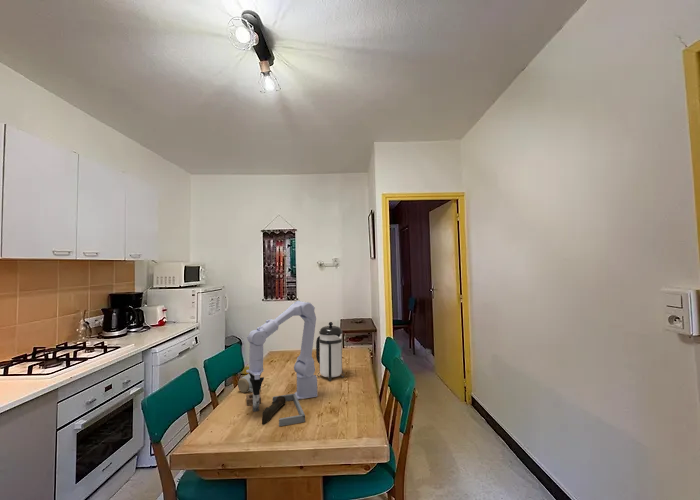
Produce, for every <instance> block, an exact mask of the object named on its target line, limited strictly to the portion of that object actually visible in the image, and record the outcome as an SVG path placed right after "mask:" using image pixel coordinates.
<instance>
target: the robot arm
mask: <svg viewBox="0 0 700 500" xmlns="http://www.w3.org/2000/svg"><path fill="white" fill-rule="evenodd" d="M315 309H316V307H315V306H314V305H313V303H311V302H309V301H307V302H306V301H300V300H297V301H294V303H292V304H290V306H289V307H287V309H284V311H283V312H282V313H280V314H279V315H278V316H276V317H275V318H274V319H272V318H270V319H266V320H265V323H263V324H262V325H260V326H257V327H256V329H253V330H251V331H249V333H248V335H247V337H246V340H247V341H248V343H249V347H248V348H249V353H248V355H249V356H248V357H249V359H248V360H249V361H248V365H249V366H248V368H249V369H246V373H248V374H250V377H251V378H250V382H251V384H252V387H253V393H252V394H254V395H259V393H260V394H261V390H260V388H261V389H262V383H263V382H264V379H265V377H264V376H263V377H261V375H262V373H263V372H264V371H265V369H264V343H265V342H266V340H267V338H269V337H270V336H271V335H273V334H274V333H275V332H277V331H278V330H279V326H280V325H281V324H283V323H284V322H286V321H287V320H289V319H290V318H292V317H295V316H299V317H300V318H301V319H302V320H303V330H302V331H303V332H302V337H301V338H302V339H301V344H300V354H299V356H297V358H296V361H295V363H294V365H293V370H294V371H295V373H296V391H295V392H294V394H295V395H296V397H297V399H298V400H304V399H309V398H310V399H312V398H318V376H317V375H316V374H315V371H316V367H315V360H314V358H313V356H312V355H313V347H314V339H315V331H316V323H317V316H316V313H315Z"/></svg>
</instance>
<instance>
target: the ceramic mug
mask: <svg viewBox="0 0 700 500" xmlns="http://www.w3.org/2000/svg"><path fill="white" fill-rule="evenodd" d="M250 378H251V377H250V374H249V373H248V374H246V375H244V376H242V377H241V378H240V379H239V380H238V381H237V388H238V389H239V391H240V392H241V393H248V392H250V393H251V394H253V387H252V384H251V382H250ZM261 389H262V387H261V388H260V391H261Z"/></svg>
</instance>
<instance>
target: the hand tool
mask: <svg viewBox="0 0 700 500" xmlns="http://www.w3.org/2000/svg"><path fill="white" fill-rule="evenodd" d="M277 396H278V397H277V399H276V400H275V401H274V402H273V401H272V402H271V404H270V405H269V407H268V406H267V407H265V408H264V409H263V410H262V413H261V415H262V416H261V424H262V425H265V424H266V423H268V422H269V421H270V420H272V416H273V415H275V413H277V411H278V410H279V409H280V408H281V407H282V406H285V404H286V401H285V397H283V396H281V395H277Z"/></svg>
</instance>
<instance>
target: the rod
mask: <svg viewBox="0 0 700 500" xmlns="http://www.w3.org/2000/svg"><path fill="white" fill-rule="evenodd" d="M252 394H253V393H252ZM259 411H260V404H259V395H254V394H253V405H252V412H255V413H256V412H259Z"/></svg>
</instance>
